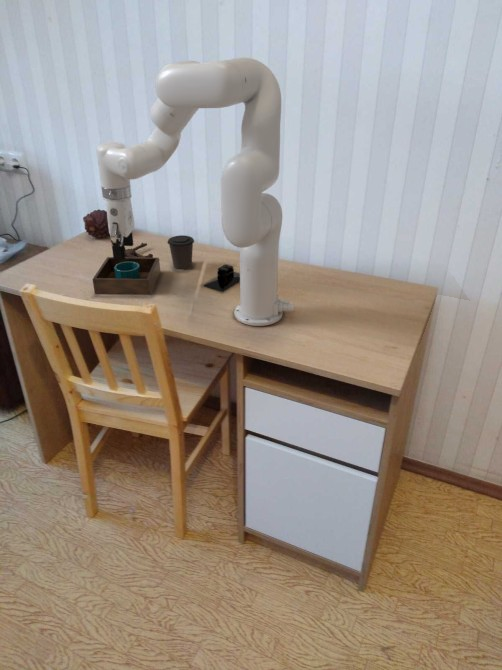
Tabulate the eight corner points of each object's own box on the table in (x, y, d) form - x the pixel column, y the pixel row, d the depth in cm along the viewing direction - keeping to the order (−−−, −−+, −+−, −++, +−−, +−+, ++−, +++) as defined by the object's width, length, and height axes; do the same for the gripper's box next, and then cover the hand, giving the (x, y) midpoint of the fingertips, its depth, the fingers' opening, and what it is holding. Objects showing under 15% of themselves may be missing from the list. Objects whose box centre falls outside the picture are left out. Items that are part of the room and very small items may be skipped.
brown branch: (128, 264, 160) (94, 249, 166) (128, 277, 163) (95, 262, 169) (168, 246, 173) (136, 232, 179) (168, 258, 175) (136, 244, 181)
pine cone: (94, 225, 198) (106, 202, 195) (116, 241, 198) (129, 218, 195) (70, 229, 181) (82, 204, 178) (93, 245, 181) (107, 221, 178)
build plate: (222, 292, 151) (221, 277, 149) (202, 286, 155) (201, 271, 152) (247, 276, 160) (247, 262, 157) (228, 271, 163) (227, 257, 161)
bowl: (143, 277, 158) (141, 261, 155) (138, 287, 152) (136, 271, 149) (120, 277, 158) (117, 261, 155) (114, 287, 152) (111, 271, 149)
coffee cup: (196, 272, 162) (195, 241, 157) (170, 274, 161) (167, 243, 156) (195, 262, 169) (193, 232, 164) (169, 264, 168) (166, 233, 163)
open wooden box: (160, 273, 162) (159, 257, 159) (150, 297, 148) (148, 279, 146) (109, 273, 162) (107, 256, 159) (95, 296, 149) (92, 279, 146)
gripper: (123, 202, 134) (130, 265, 143) (137, 183, 149) (143, 241, 158) (93, 201, 134) (102, 264, 143) (110, 182, 149) (118, 240, 158)
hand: (123, 252), depth 150 cm, fingers open, 9 cm apart
